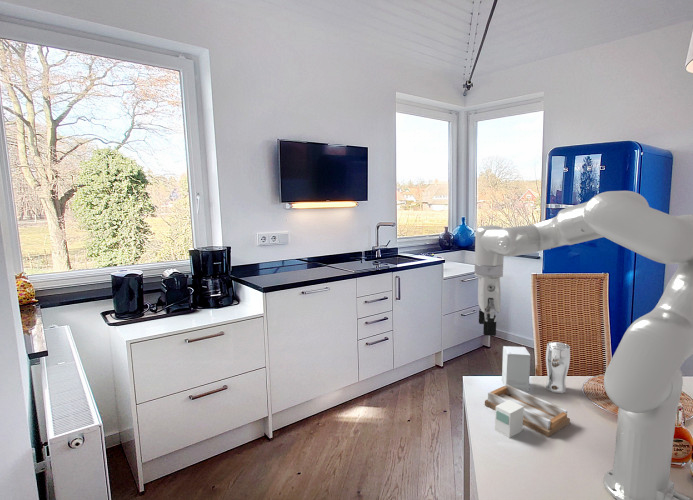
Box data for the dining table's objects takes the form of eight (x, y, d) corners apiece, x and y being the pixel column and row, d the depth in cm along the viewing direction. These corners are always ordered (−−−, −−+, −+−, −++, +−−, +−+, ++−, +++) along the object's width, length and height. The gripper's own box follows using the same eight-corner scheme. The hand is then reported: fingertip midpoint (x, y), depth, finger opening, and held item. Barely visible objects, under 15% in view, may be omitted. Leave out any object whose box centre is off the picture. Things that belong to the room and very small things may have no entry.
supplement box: (529, 392, 130) (531, 355, 128) (505, 390, 132) (506, 353, 130) (524, 381, 137) (525, 346, 135) (501, 380, 139) (502, 345, 137)
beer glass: (567, 396, 127) (570, 351, 125) (543, 391, 131) (545, 347, 129) (568, 386, 133) (570, 343, 131) (544, 382, 137) (547, 340, 135)
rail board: (569, 423, 112) (570, 410, 112) (548, 437, 106) (548, 423, 106) (506, 394, 129) (507, 383, 128) (484, 405, 123) (485, 393, 122)
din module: (522, 430, 109) (523, 406, 108) (508, 438, 106) (510, 413, 105) (507, 422, 113) (508, 399, 112) (494, 430, 110) (495, 406, 109)
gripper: (509, 276, 103) (506, 340, 105) (497, 265, 119) (495, 320, 122) (478, 276, 104) (476, 339, 106) (471, 264, 121) (469, 319, 123)
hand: (486, 329), depth 114 cm, fingers open, 9 cm apart
